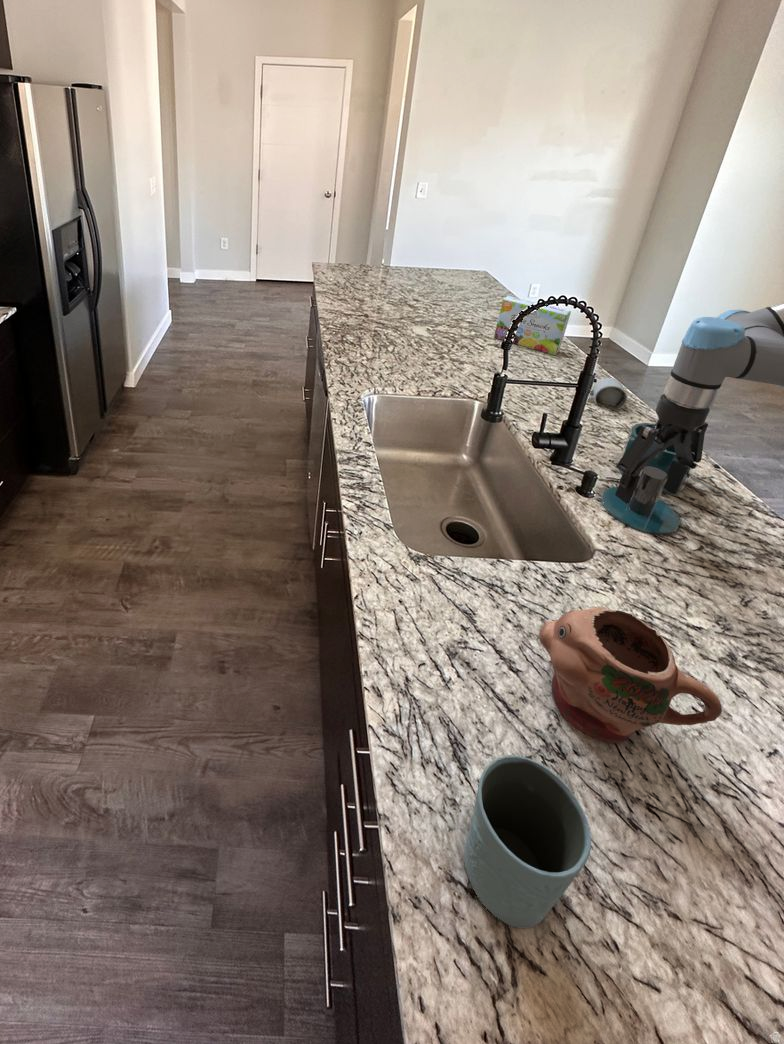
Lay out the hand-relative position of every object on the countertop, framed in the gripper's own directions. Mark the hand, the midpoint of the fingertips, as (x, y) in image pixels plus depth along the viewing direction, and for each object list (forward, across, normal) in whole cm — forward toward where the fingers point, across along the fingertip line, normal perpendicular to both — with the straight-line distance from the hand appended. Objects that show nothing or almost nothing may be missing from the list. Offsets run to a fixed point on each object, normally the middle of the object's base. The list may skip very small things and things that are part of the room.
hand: (645, 494), depth 108 cm
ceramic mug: (+5, -29, -39) cm, 49 cm away
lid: (+4, 0, 0) cm, 4 cm away
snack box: (+5, -37, -80) cm, 88 cm away
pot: (+5, -13, -9) cm, 17 cm away
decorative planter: (+5, +40, +31) cm, 51 cm away
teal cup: (+5, +64, +42) cm, 77 cm away
